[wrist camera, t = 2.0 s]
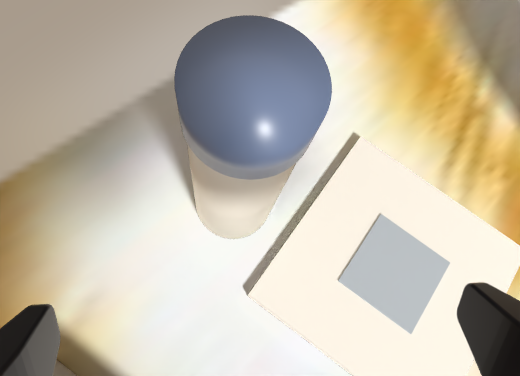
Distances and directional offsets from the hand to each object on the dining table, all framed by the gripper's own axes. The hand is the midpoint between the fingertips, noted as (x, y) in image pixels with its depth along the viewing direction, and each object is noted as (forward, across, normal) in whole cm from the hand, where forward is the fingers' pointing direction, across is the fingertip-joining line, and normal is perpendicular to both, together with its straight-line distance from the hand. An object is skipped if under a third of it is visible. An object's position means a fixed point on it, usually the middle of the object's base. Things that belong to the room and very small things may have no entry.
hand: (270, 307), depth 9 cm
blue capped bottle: (+13, 0, +5) cm, 14 cm away
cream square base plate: (+10, -8, +8) cm, 15 cm away
